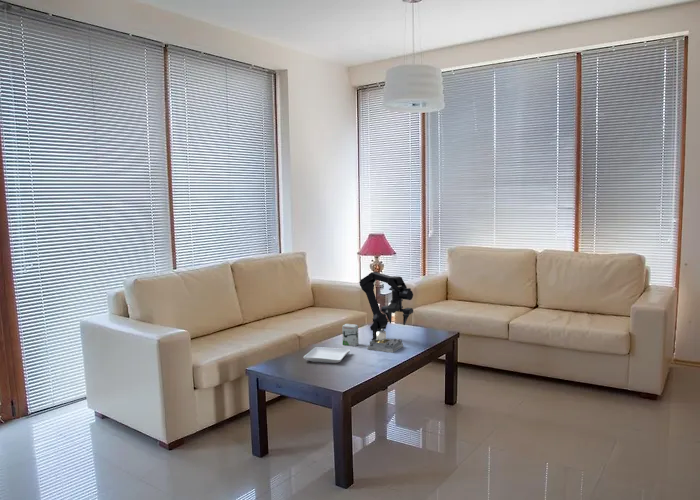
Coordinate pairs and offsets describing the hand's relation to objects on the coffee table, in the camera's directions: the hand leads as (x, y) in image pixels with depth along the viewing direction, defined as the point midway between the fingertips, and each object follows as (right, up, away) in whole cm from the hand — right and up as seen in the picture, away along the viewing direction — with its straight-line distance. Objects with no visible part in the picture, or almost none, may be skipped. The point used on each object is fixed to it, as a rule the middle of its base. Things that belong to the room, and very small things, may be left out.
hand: (397, 324), depth 319 cm
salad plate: (-40, -16, -23) cm, 49 cm away
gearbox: (-7, -13, -6) cm, 16 cm away
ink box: (-28, -13, +3) cm, 30 cm away
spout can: (-10, -11, -5) cm, 15 cm away
